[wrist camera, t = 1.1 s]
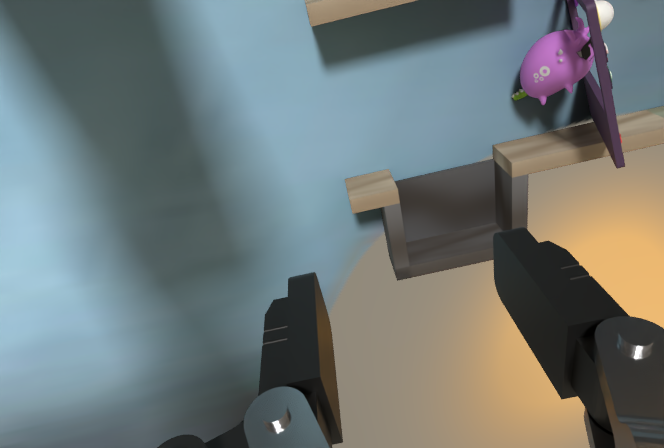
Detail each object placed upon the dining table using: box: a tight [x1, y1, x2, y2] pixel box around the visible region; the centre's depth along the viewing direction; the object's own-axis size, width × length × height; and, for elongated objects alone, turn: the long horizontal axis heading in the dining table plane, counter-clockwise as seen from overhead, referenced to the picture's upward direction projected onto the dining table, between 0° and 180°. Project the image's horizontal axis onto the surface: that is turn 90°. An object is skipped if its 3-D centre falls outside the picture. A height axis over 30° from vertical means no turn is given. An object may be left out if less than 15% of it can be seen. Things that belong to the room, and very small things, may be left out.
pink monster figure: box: [512, 0, 625, 168], centre depth 25 cm, size 7×5×9 cm
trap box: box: [305, 0, 664, 280], centre depth 25 cm, size 24×30×3 cm
